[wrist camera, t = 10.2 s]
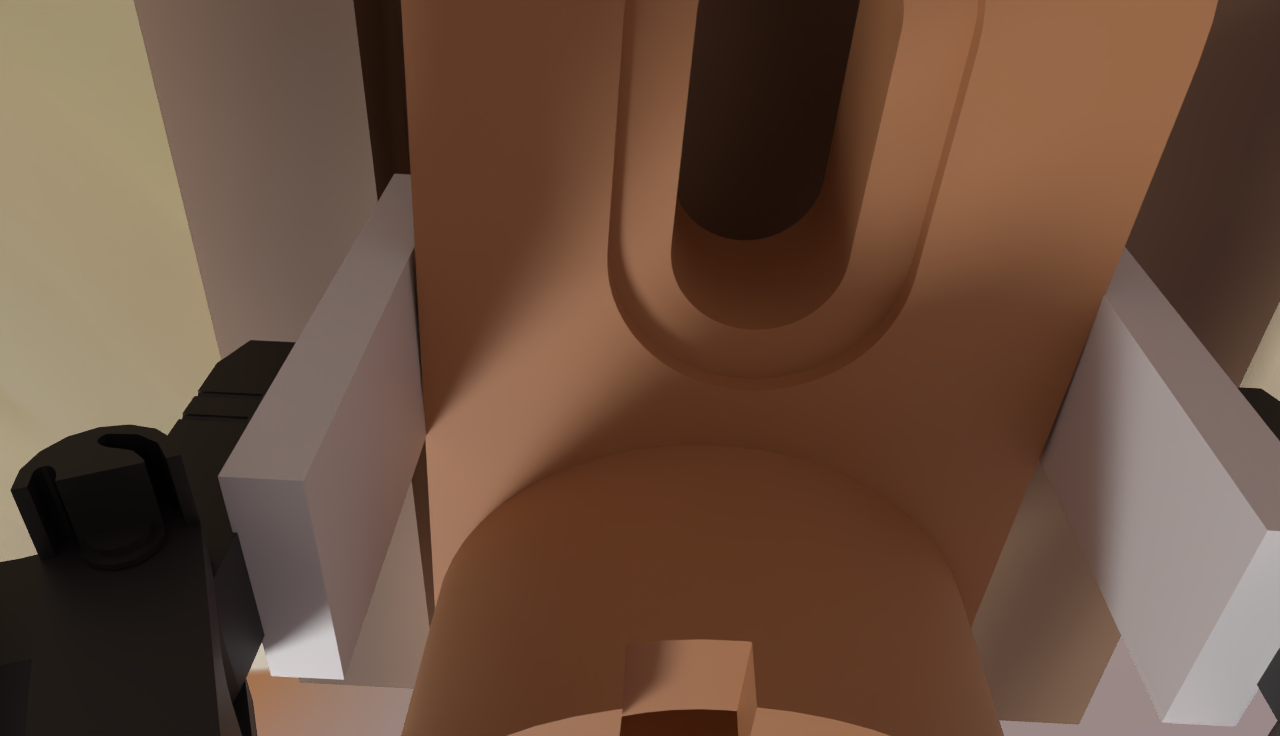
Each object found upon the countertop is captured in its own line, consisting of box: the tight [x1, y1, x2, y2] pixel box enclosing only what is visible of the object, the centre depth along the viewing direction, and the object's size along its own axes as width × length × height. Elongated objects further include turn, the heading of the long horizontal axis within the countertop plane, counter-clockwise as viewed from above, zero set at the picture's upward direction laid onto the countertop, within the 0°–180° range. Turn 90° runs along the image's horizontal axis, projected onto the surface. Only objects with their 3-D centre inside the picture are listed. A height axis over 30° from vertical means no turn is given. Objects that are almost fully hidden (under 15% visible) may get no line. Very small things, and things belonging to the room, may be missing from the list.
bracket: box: [401, 0, 1218, 736], centre depth 12 cm, size 18×8×7 cm, turn 175°
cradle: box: [134, 0, 1280, 724], centre depth 16 cm, size 19×22×3 cm
